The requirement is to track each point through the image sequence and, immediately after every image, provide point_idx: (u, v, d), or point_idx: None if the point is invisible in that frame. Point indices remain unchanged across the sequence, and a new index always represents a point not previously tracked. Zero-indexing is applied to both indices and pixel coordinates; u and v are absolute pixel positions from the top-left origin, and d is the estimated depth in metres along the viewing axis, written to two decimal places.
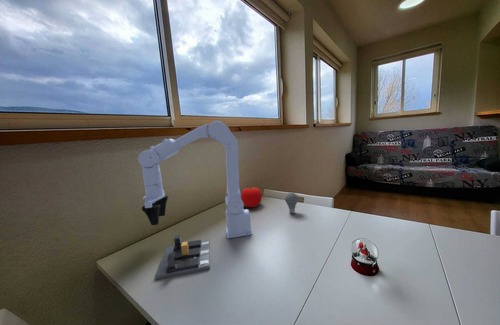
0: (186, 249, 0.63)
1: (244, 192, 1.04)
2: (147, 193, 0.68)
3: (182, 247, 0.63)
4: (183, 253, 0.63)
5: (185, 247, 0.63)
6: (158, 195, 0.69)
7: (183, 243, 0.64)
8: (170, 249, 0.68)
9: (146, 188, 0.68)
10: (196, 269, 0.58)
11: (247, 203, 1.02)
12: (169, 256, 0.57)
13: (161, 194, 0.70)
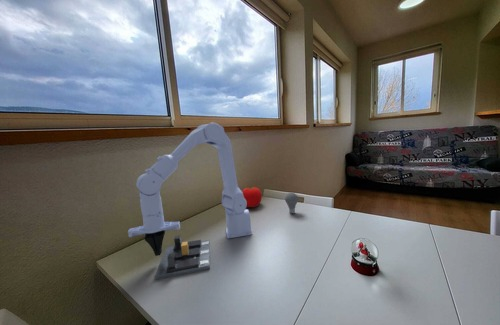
0: (186, 249, 0.63)
1: (244, 192, 1.04)
2: None
3: (182, 247, 0.63)
4: (183, 253, 0.63)
5: (185, 247, 0.63)
6: (145, 228, 0.59)
7: (183, 243, 0.64)
8: (170, 249, 0.68)
9: None
10: (196, 269, 0.58)
11: (247, 203, 1.02)
12: (169, 256, 0.57)
13: (147, 229, 0.58)
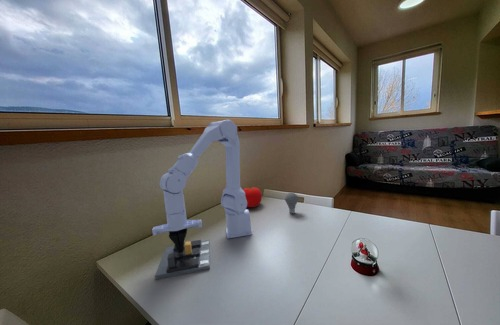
0: (189, 248, 0.63)
1: None
2: None
3: (185, 246, 0.63)
4: (186, 252, 0.63)
5: (188, 246, 0.63)
6: (169, 226, 0.60)
7: (186, 242, 0.64)
8: (170, 249, 0.68)
9: None
10: (196, 269, 0.58)
11: (247, 203, 1.02)
12: (169, 256, 0.57)
13: (172, 226, 0.60)
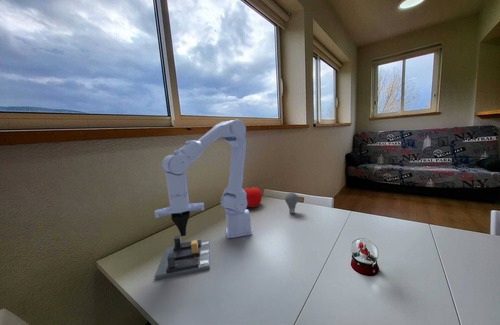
0: (196, 247, 0.64)
1: None
2: None
3: (192, 245, 0.63)
4: (193, 251, 0.63)
5: (195, 245, 0.63)
6: (171, 208, 0.60)
7: (193, 241, 0.64)
8: (170, 249, 0.68)
9: None
10: (196, 269, 0.58)
11: (247, 203, 1.02)
12: (169, 256, 0.57)
13: (175, 209, 0.59)
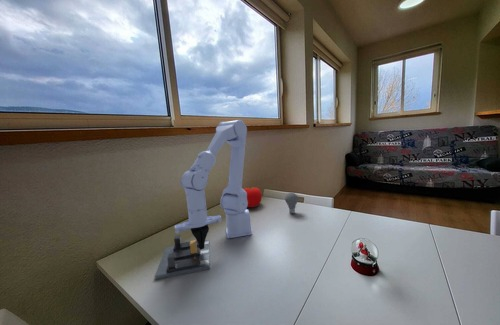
0: (195, 248, 0.63)
1: None
2: None
3: (191, 246, 0.63)
4: (192, 251, 0.63)
5: (193, 246, 0.63)
6: (192, 223, 0.61)
7: (192, 242, 0.64)
8: (170, 249, 0.68)
9: None
10: (196, 269, 0.58)
11: None
12: (169, 256, 0.57)
13: (196, 223, 0.61)
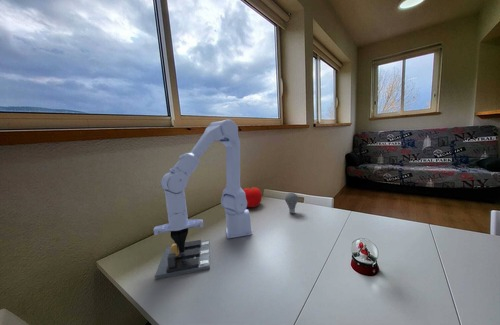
0: (176, 251, 0.62)
1: None
2: None
3: (172, 249, 0.62)
4: None
5: (175, 249, 0.62)
6: (170, 226, 0.60)
7: (173, 245, 0.63)
8: (170, 249, 0.68)
9: None
10: (196, 269, 0.58)
11: (247, 203, 1.02)
12: (169, 256, 0.57)
13: (173, 226, 0.60)
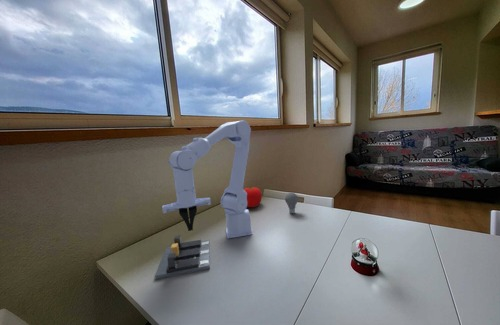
0: (176, 251, 0.62)
1: None
2: None
3: (172, 249, 0.62)
4: None
5: (175, 249, 0.62)
6: (179, 203, 0.61)
7: (173, 245, 0.63)
8: (170, 249, 0.68)
9: None
10: (196, 269, 0.58)
11: (247, 203, 1.02)
12: (169, 256, 0.57)
13: (183, 203, 0.60)
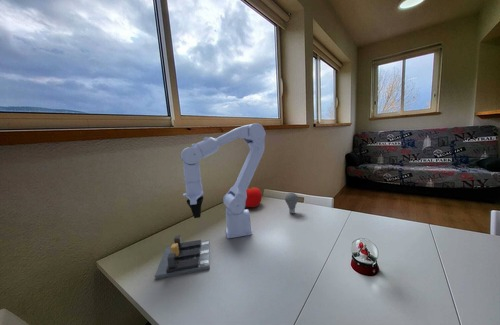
0: (176, 251, 0.62)
1: None
2: (188, 190, 0.68)
3: (172, 249, 0.62)
4: None
5: (175, 249, 0.62)
6: (199, 192, 0.70)
7: (173, 245, 0.63)
8: (170, 249, 0.68)
9: (188, 185, 0.68)
10: (196, 269, 0.58)
11: (247, 203, 1.02)
12: (169, 256, 0.57)
13: (201, 191, 0.71)
